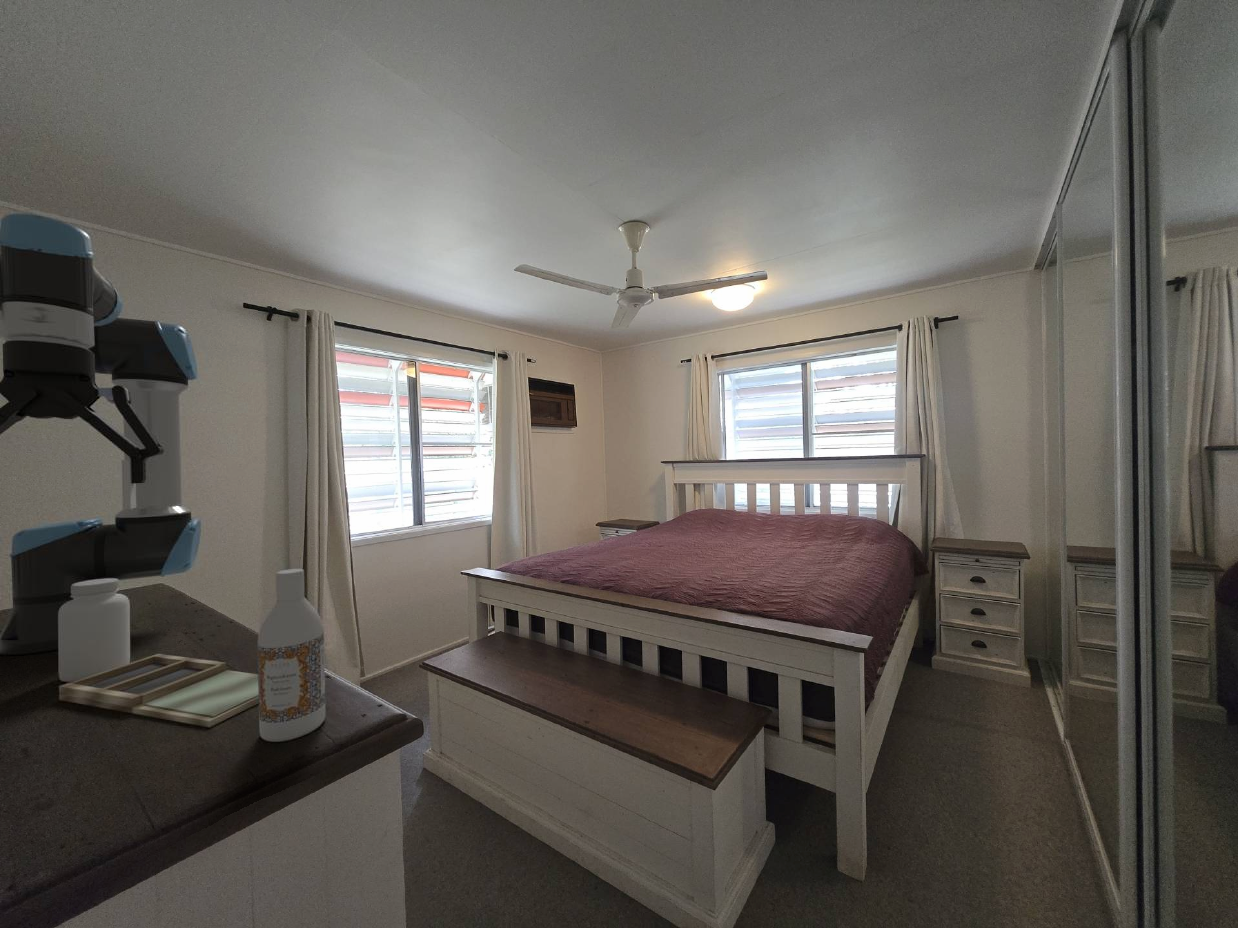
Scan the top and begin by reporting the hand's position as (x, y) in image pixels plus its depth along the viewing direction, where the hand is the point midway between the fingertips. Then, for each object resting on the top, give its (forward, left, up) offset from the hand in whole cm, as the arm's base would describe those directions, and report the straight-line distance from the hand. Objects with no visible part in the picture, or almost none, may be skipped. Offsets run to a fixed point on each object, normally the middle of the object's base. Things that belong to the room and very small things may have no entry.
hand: (54, 512), depth 61 cm
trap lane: (-5, +11, -28) cm, 30 cm away
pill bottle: (-23, -2, -28) cm, 37 cm away
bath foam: (+17, +25, -28) cm, 41 cm away
